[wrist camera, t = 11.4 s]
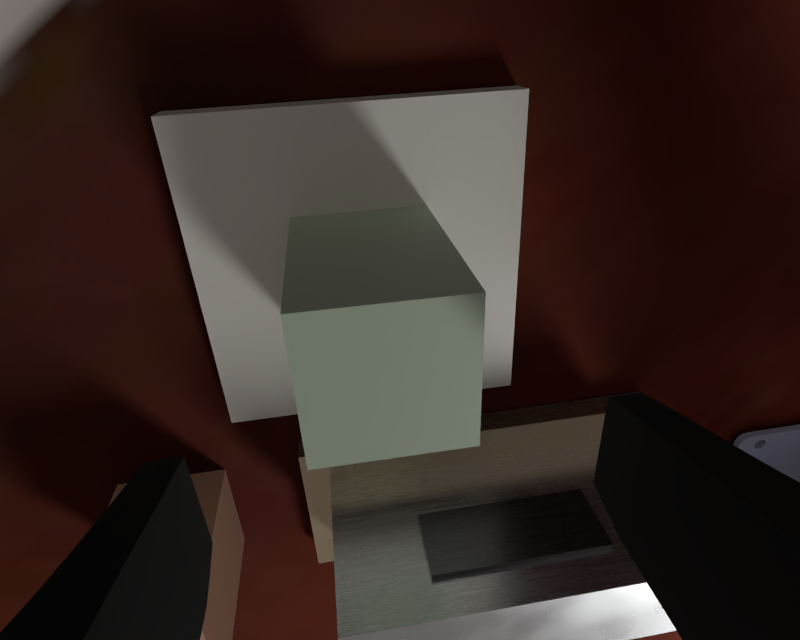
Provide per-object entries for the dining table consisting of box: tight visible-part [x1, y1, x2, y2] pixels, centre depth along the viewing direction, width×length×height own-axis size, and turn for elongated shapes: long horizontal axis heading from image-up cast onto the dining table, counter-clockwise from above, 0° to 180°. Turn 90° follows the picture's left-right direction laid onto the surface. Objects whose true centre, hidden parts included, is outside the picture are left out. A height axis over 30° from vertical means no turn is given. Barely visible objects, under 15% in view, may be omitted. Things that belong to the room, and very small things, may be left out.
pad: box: [151, 86, 529, 423], centre depth 17 cm, size 10×10×1 cm
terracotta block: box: [109, 469, 245, 640], centre depth 19 cm, size 4×4×6 cm
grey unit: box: [298, 391, 676, 640], centre depth 20 cm, size 14×6×7 cm, turn 93°
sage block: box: [280, 205, 486, 470], centre depth 14 cm, size 4×4×6 cm
